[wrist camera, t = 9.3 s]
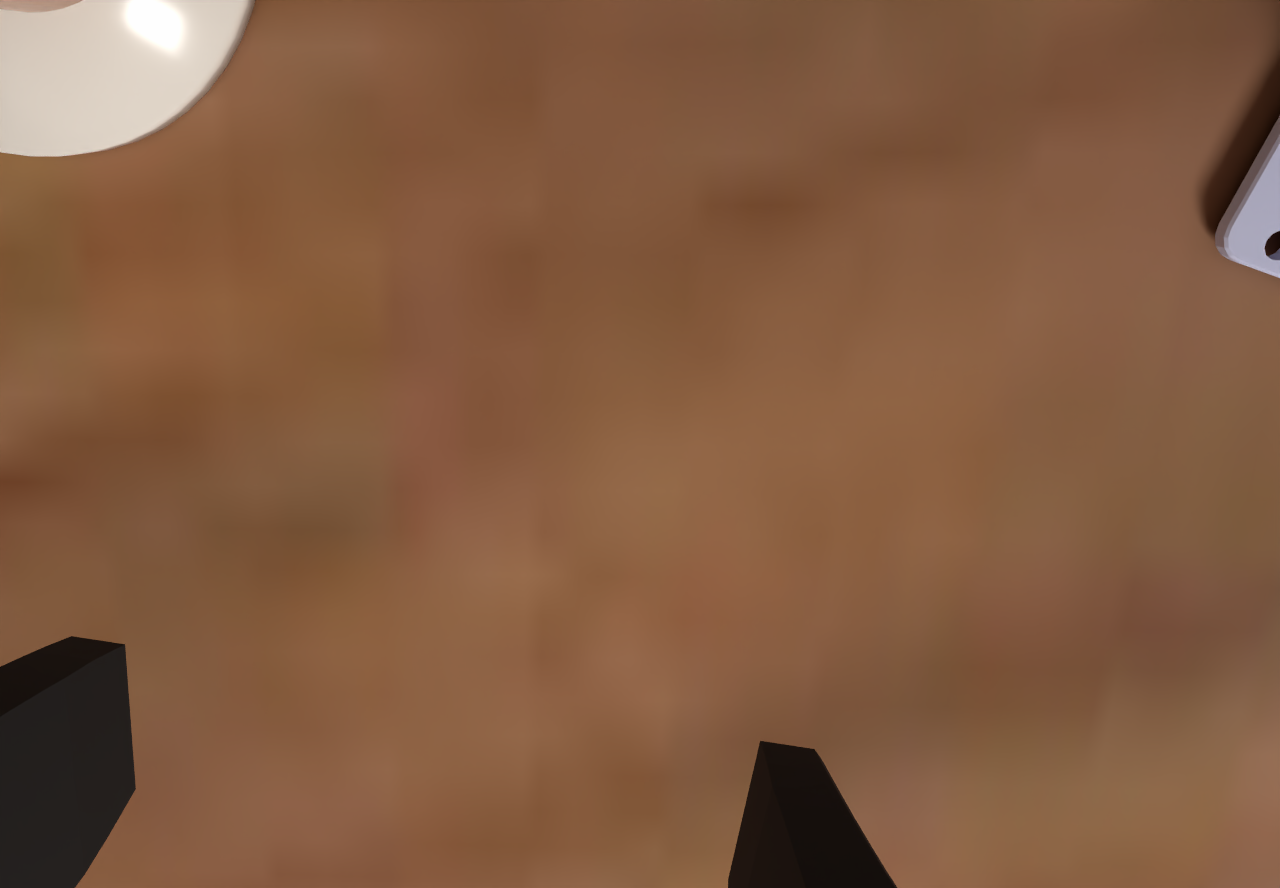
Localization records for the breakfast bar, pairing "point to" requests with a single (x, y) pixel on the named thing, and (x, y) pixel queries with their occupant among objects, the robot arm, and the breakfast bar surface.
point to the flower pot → (35, 5)
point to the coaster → (109, 70)
